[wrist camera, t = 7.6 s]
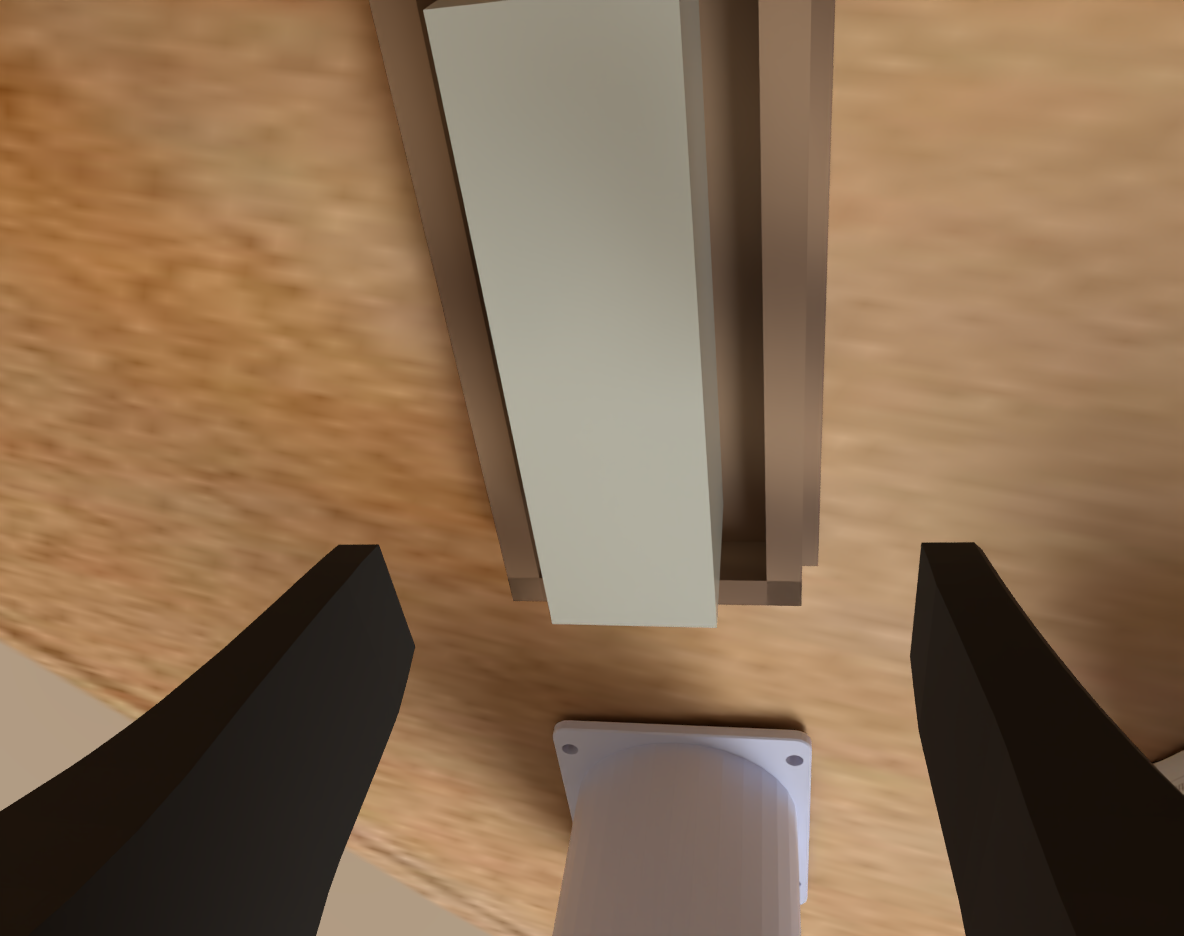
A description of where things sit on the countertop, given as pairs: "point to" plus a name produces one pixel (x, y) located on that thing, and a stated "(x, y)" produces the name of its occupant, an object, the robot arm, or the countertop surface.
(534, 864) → the countertop surface
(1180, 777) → the supplement box
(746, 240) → the tray
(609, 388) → the grey rectangular block
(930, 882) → the countertop surface
